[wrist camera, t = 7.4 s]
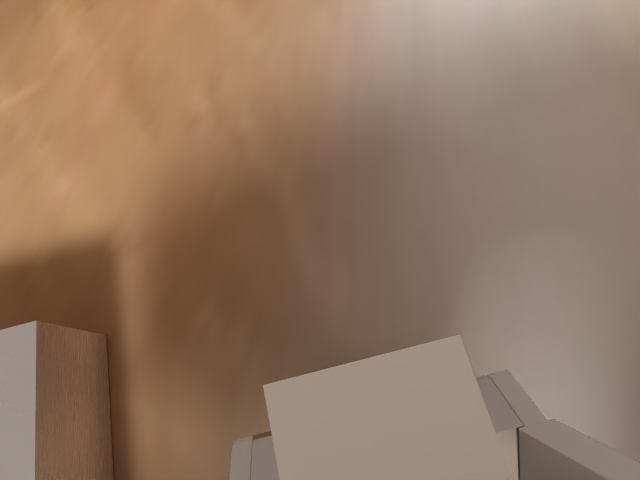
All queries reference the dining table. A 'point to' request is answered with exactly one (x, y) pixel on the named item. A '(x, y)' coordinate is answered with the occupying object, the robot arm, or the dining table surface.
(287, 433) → the plug
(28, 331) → the grey square socket base
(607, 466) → the robot arm
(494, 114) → the dining table surface
